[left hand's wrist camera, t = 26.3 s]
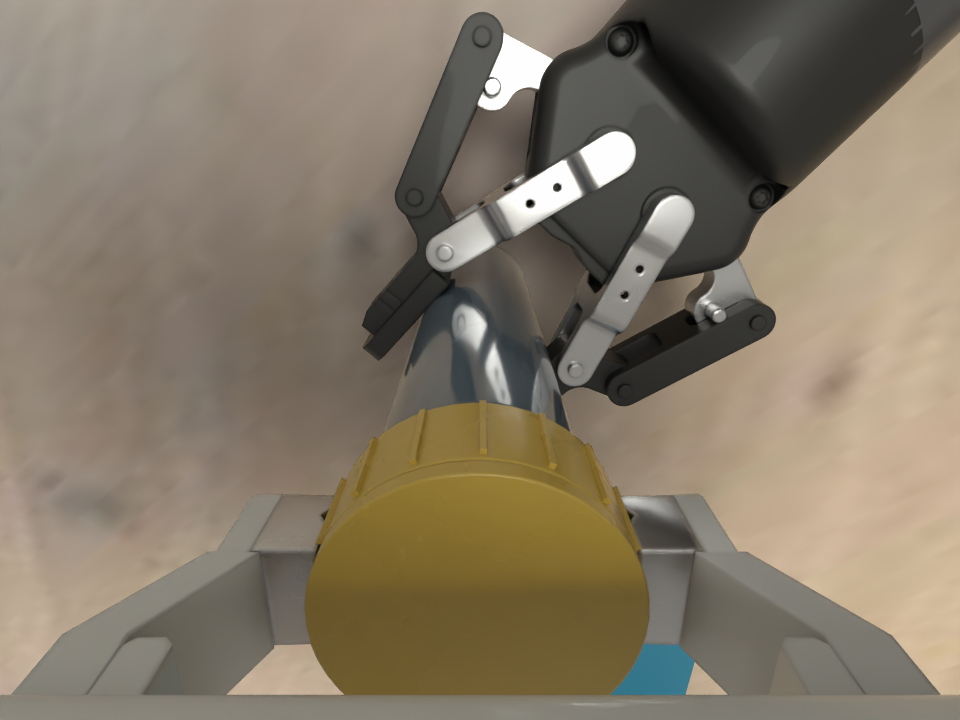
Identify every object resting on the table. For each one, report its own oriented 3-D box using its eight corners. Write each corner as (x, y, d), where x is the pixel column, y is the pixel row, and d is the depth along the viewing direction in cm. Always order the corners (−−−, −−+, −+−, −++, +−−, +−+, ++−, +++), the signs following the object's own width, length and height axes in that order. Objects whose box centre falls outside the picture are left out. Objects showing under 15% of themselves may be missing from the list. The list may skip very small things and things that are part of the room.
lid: (371, 650, 12) (348, 763, 10) (303, 423, 10) (255, 499, 8) (629, 618, 11) (662, 726, 9) (606, 377, 10) (641, 444, 7)
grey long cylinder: (491, 350, 28) (511, 710, 10) (414, 302, 27) (296, 605, 10) (543, 277, 27) (666, 545, 9) (465, 224, 26) (435, 408, 8)
